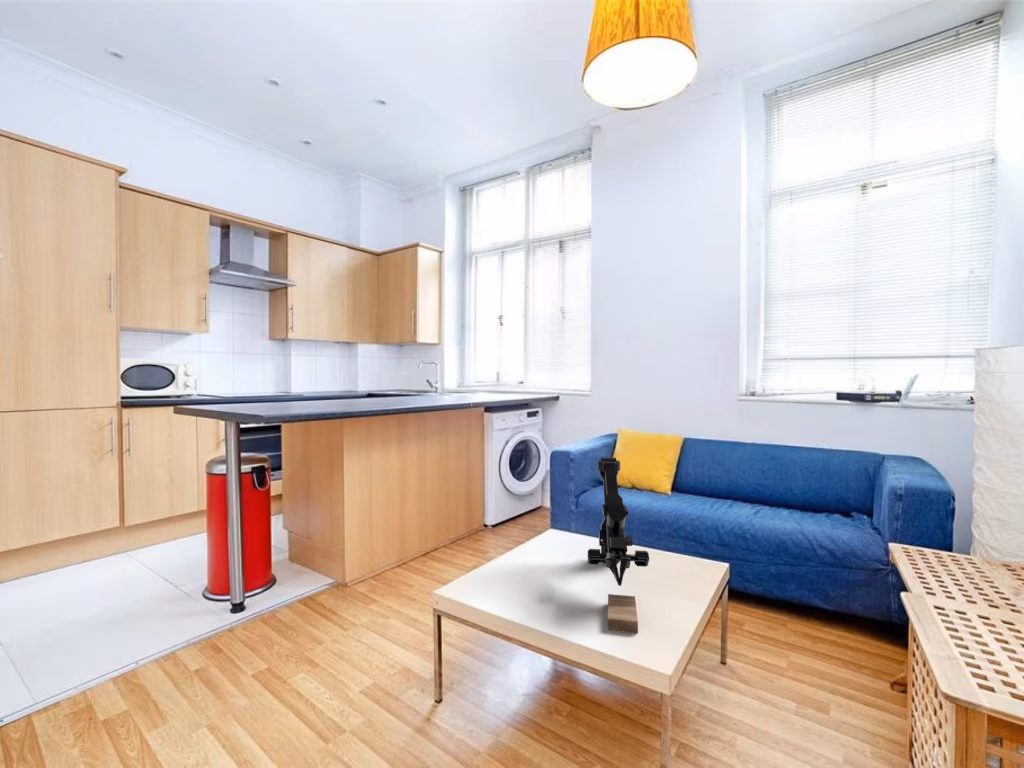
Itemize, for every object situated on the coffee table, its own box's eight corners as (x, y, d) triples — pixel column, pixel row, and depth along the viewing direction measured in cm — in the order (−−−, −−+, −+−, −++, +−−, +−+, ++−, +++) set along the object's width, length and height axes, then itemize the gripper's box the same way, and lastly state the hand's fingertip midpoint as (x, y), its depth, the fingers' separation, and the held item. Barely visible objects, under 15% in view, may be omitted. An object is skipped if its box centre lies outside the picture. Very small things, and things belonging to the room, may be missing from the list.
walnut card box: (608, 594, 137) (607, 618, 122) (634, 596, 135) (637, 621, 121) (608, 605, 137) (608, 631, 122) (635, 607, 135) (638, 634, 121)
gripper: (587, 523, 141) (589, 572, 130) (647, 525, 138) (654, 575, 127) (586, 539, 148) (588, 587, 137) (644, 541, 146) (650, 590, 135)
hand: (619, 585), depth 134 cm, fingers closed
